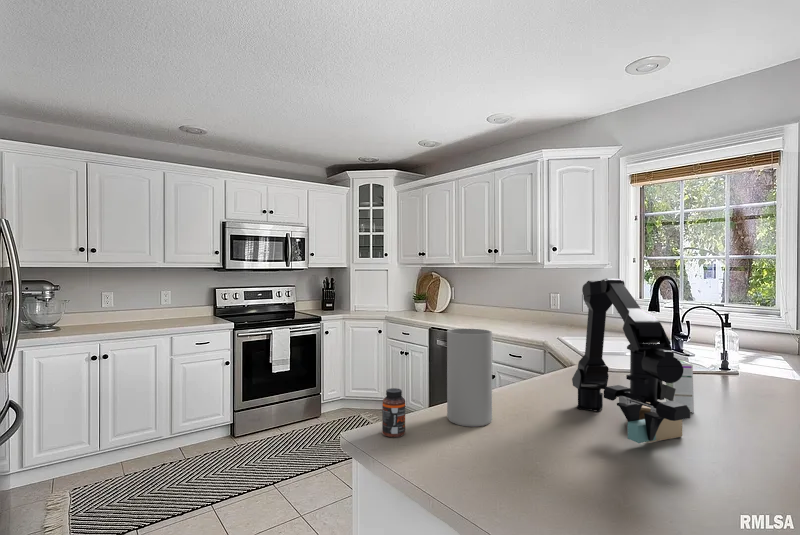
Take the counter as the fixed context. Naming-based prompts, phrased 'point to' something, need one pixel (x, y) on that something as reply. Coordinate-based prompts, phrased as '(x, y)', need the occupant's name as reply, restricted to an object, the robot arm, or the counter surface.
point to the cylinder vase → (469, 377)
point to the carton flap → (664, 431)
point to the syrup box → (684, 387)
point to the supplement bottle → (393, 413)
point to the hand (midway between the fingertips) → (643, 437)
